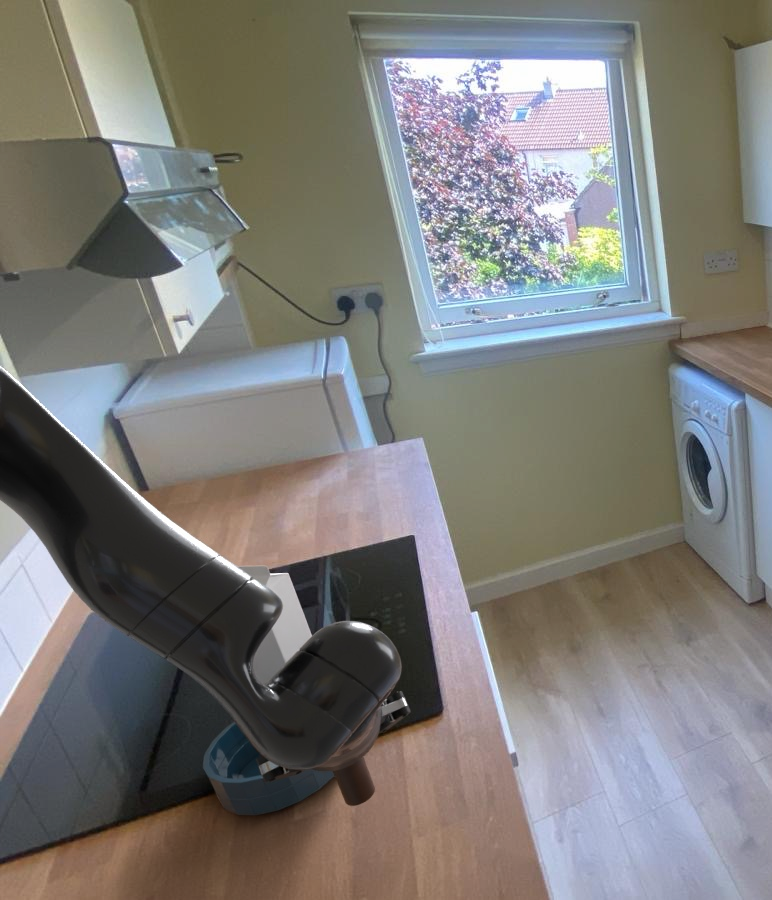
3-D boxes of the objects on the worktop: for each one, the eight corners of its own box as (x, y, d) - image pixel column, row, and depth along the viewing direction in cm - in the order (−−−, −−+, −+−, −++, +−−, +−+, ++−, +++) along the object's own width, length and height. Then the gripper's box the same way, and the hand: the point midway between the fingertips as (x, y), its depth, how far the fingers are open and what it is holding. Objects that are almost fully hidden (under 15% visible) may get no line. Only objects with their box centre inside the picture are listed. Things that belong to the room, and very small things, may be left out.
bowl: (274, 833, 85) (256, 797, 82) (193, 798, 90) (174, 763, 87) (377, 743, 97) (365, 709, 94) (301, 716, 102) (288, 683, 99)
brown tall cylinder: (358, 809, 80) (331, 742, 76) (338, 801, 81) (311, 734, 77) (381, 787, 83) (356, 721, 79) (361, 780, 84) (336, 714, 80)
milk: (289, 680, 108) (237, 553, 99) (329, 679, 108) (282, 552, 99) (261, 710, 103) (204, 579, 94) (304, 709, 103) (251, 578, 94)
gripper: (399, 651, 73) (395, 683, 86) (228, 725, 64) (253, 748, 78) (429, 720, 71) (420, 742, 85) (258, 806, 63) (278, 815, 76)
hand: (340, 745), depth 81 cm, fingers closed on brown tall cylinder, 3 cm apart
